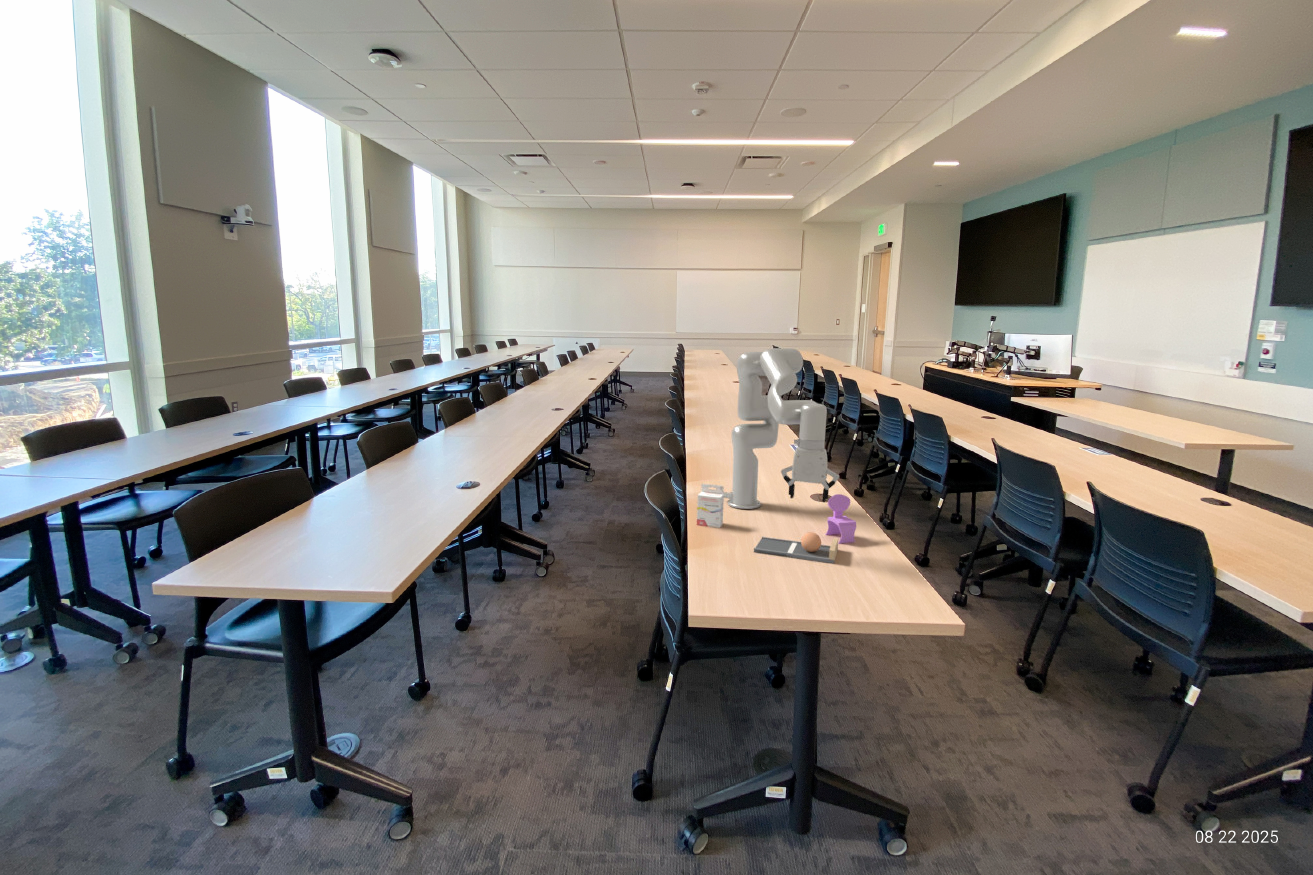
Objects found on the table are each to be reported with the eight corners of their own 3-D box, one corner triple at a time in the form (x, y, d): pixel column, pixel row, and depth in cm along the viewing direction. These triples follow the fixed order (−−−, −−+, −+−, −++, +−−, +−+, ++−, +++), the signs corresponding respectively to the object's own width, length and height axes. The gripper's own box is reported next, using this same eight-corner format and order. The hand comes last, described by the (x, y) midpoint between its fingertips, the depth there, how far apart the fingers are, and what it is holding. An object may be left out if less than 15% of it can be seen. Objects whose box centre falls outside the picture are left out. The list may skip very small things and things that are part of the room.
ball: (823, 540, 180) (815, 557, 181) (825, 535, 185) (817, 552, 187) (804, 531, 182) (796, 548, 183) (807, 526, 187) (799, 543, 189)
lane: (753, 552, 186) (754, 539, 185) (761, 540, 197) (762, 528, 196) (833, 563, 177) (834, 550, 176) (837, 550, 188) (838, 538, 187)
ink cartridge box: (696, 527, 210) (697, 486, 207) (699, 523, 214) (700, 483, 212) (720, 529, 207) (721, 488, 204) (723, 525, 211) (724, 485, 209)
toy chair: (836, 545, 192) (838, 500, 190) (821, 537, 201) (824, 493, 198) (858, 543, 194) (861, 499, 192) (843, 535, 203) (846, 492, 200)
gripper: (780, 444, 180) (777, 499, 184) (840, 449, 174) (836, 506, 177) (784, 440, 187) (781, 492, 190) (842, 444, 181) (838, 499, 184)
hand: (807, 499), depth 184 cm, fingers open, 9 cm apart
